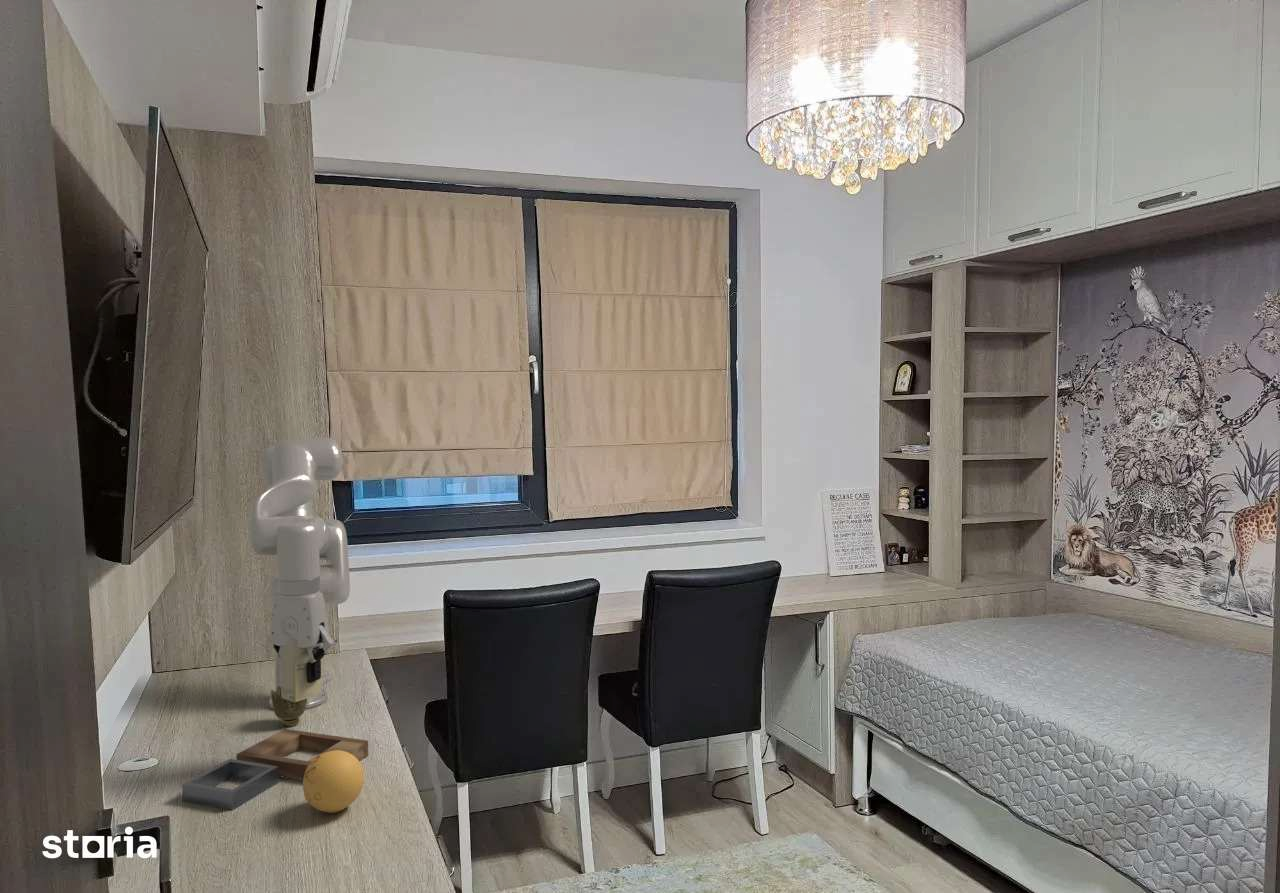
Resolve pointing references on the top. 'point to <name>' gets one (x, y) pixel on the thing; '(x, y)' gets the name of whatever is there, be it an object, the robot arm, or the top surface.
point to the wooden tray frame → (292, 741)
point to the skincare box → (296, 673)
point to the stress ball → (333, 781)
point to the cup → (287, 708)
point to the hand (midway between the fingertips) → (301, 678)
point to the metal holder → (208, 794)
